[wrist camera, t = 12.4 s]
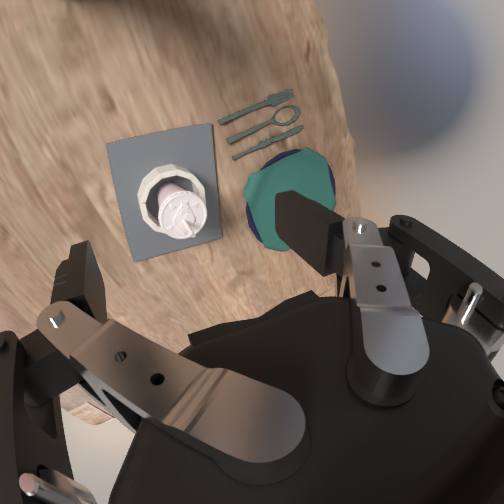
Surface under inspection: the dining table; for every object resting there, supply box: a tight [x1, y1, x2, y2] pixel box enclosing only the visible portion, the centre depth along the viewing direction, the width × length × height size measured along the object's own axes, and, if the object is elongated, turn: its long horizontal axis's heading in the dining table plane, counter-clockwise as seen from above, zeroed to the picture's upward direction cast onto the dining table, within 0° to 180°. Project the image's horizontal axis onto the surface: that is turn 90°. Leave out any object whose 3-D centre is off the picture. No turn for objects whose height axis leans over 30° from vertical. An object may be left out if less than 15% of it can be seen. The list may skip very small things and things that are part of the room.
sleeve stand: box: [106, 123, 222, 262], centre depth 43 cm, size 20×16×5 cm
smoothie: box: [157, 183, 207, 239], centre depth 39 cm, size 6×6×14 cm
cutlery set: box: [218, 89, 336, 251], centre depth 52 cm, size 20×30×2 cm, turn 19°
